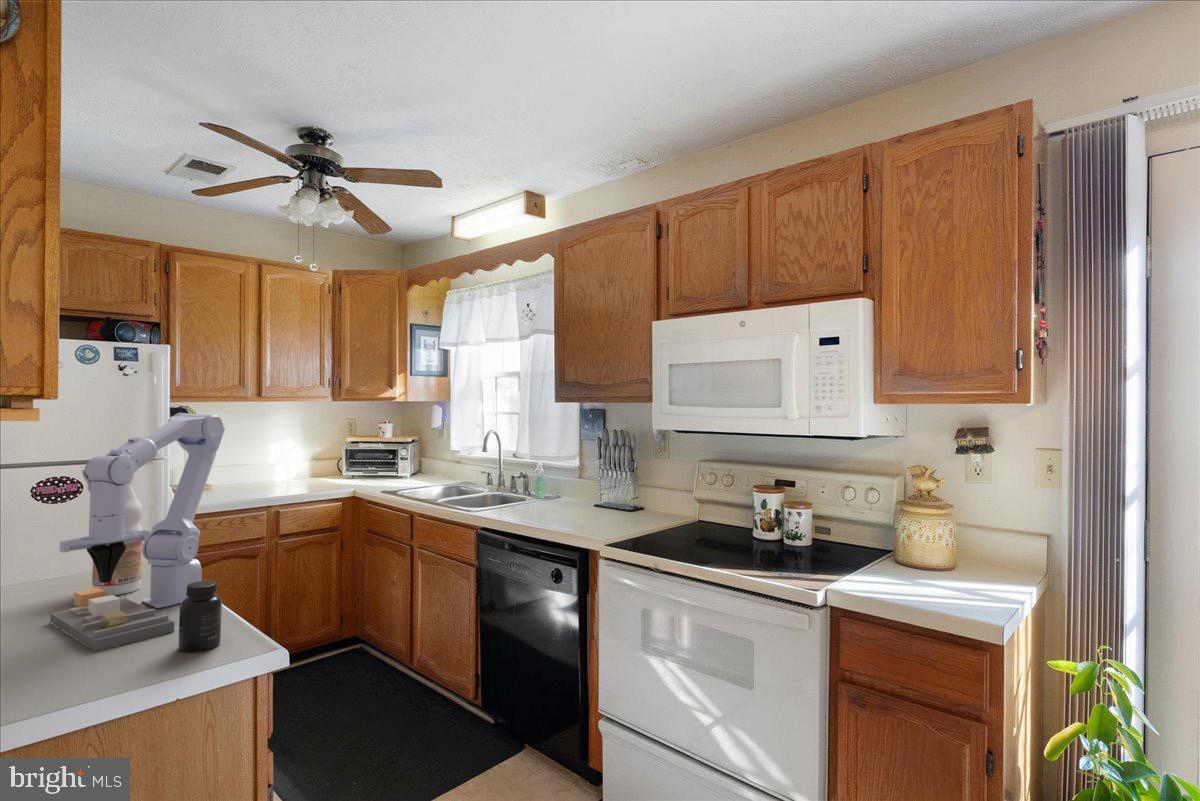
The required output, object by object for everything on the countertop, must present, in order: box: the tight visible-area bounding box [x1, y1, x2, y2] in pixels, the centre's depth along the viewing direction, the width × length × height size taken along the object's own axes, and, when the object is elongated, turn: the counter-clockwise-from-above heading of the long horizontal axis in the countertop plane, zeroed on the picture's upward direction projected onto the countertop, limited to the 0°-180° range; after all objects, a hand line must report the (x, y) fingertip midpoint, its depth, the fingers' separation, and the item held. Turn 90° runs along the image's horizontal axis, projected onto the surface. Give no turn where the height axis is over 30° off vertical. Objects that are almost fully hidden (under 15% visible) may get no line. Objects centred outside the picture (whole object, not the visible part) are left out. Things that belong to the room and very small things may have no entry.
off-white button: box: [88, 595, 121, 616], centre depth 127 cm, size 4×4×2 cm
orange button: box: [73, 587, 105, 608], centre depth 131 cm, size 4×4×2 cm
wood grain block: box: [101, 611, 128, 629], centre depth 122 cm, size 3×4×2 cm
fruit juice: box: [91, 476, 144, 596], centre depth 151 cm, size 9×9×28 cm
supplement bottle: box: [178, 580, 223, 654], centre depth 119 cm, size 7×7×12 cm
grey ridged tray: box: [49, 597, 175, 652], centre depth 127 cm, size 13×24×3 cm, turn 56°
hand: (105, 581), depth 127 cm, fingers closed
